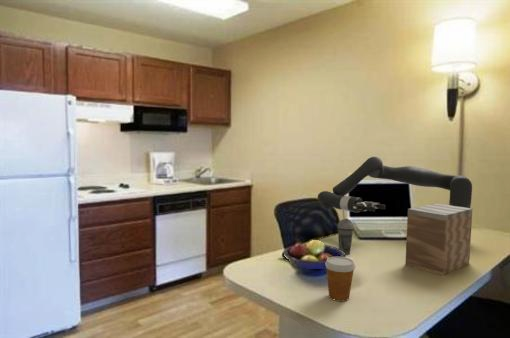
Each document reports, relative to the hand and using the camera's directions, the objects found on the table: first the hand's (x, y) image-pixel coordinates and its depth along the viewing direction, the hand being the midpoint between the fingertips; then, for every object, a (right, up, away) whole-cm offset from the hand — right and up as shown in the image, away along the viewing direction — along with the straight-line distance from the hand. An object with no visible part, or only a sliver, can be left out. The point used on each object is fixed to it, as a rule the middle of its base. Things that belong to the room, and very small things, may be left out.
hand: (379, 208), depth 174 cm
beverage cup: (-19, -19, -10) cm, 29 cm away
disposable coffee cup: (-32, -23, -55) cm, 68 cm away
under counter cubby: (+16, -21, -23) cm, 34 cm away
